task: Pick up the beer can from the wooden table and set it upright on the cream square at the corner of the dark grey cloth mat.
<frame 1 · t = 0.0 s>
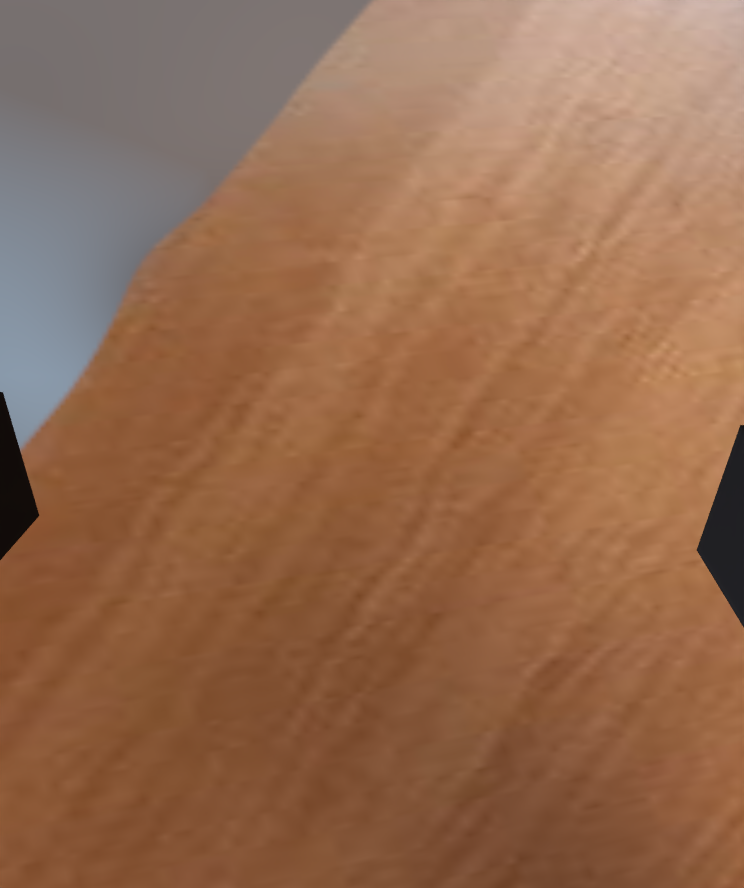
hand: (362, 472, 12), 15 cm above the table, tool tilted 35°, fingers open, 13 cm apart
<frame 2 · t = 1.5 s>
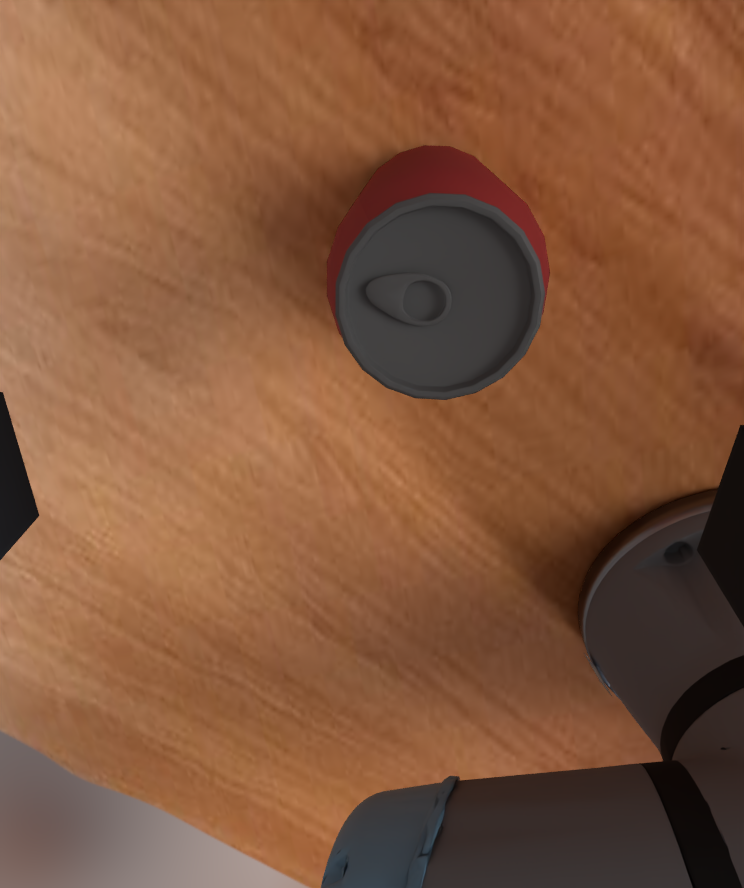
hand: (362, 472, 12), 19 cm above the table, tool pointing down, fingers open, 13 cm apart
beer can: (430, 227, 27), on the table
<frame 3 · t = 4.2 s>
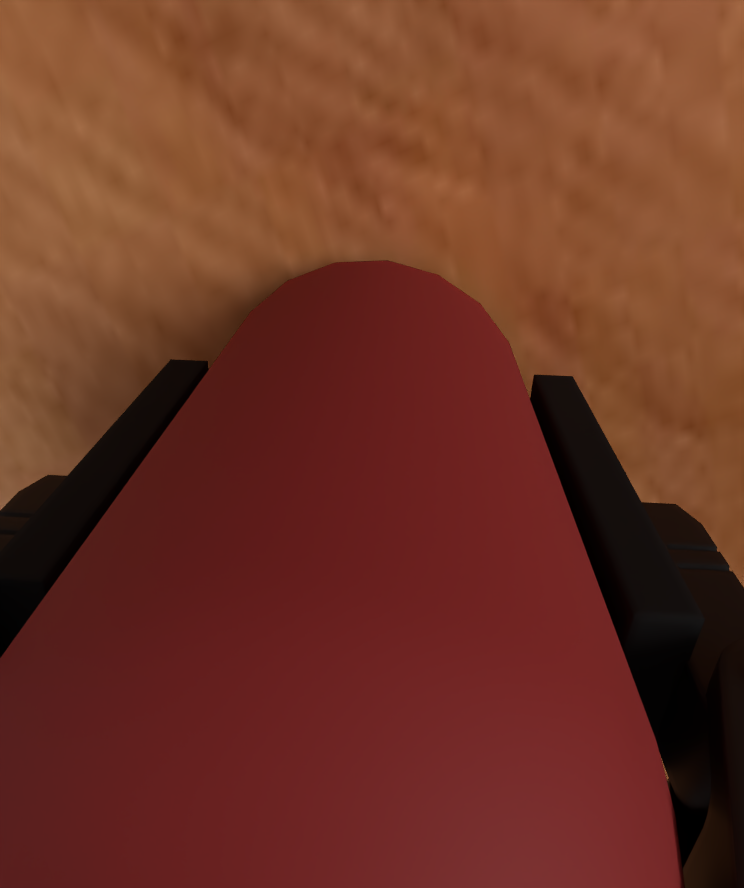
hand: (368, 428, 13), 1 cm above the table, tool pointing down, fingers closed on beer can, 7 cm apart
beer can: (372, 394, 15), on the table, touching gripper
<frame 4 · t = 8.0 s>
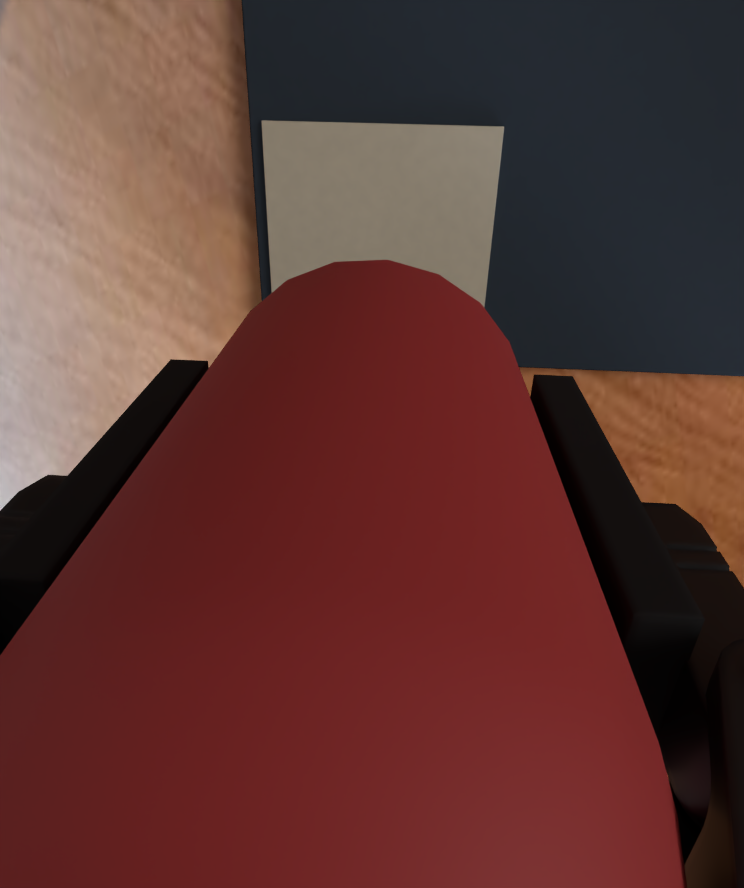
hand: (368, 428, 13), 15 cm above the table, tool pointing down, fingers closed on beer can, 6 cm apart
beer can: (372, 394, 15), point 14 cm above the table, touching gripper
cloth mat: (535, 169, 25), on the table
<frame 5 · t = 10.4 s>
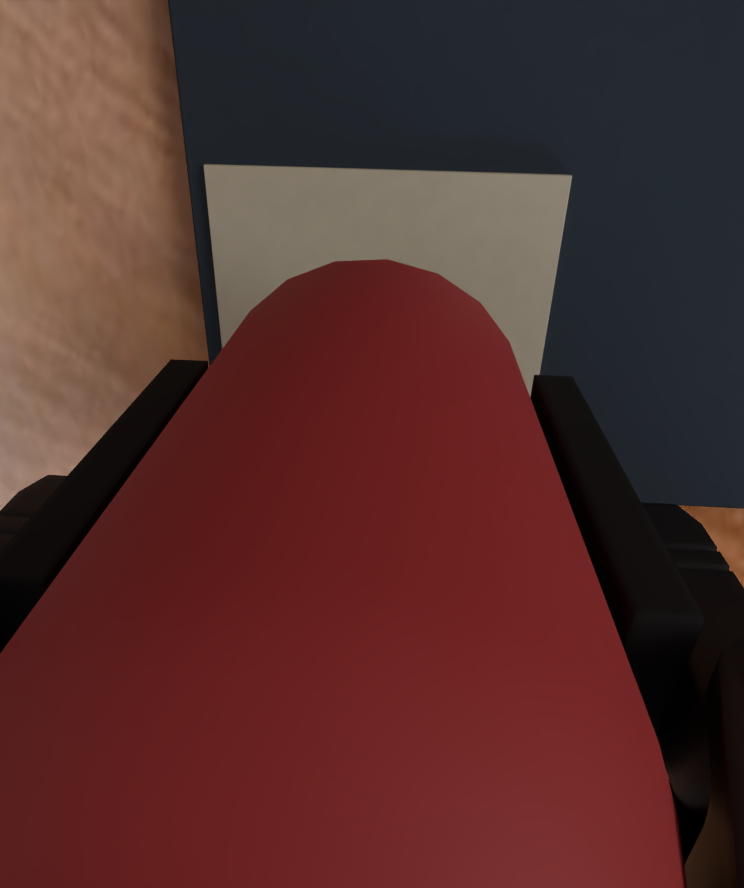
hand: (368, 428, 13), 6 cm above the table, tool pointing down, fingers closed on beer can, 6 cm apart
beer can: (372, 393, 15), point 4 cm above the table, touching gripper
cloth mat: (613, 235, 17), on the table
when the fingers open (2 cm above the table, at t = 11.8 s): beer can stays where it is, resting on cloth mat.
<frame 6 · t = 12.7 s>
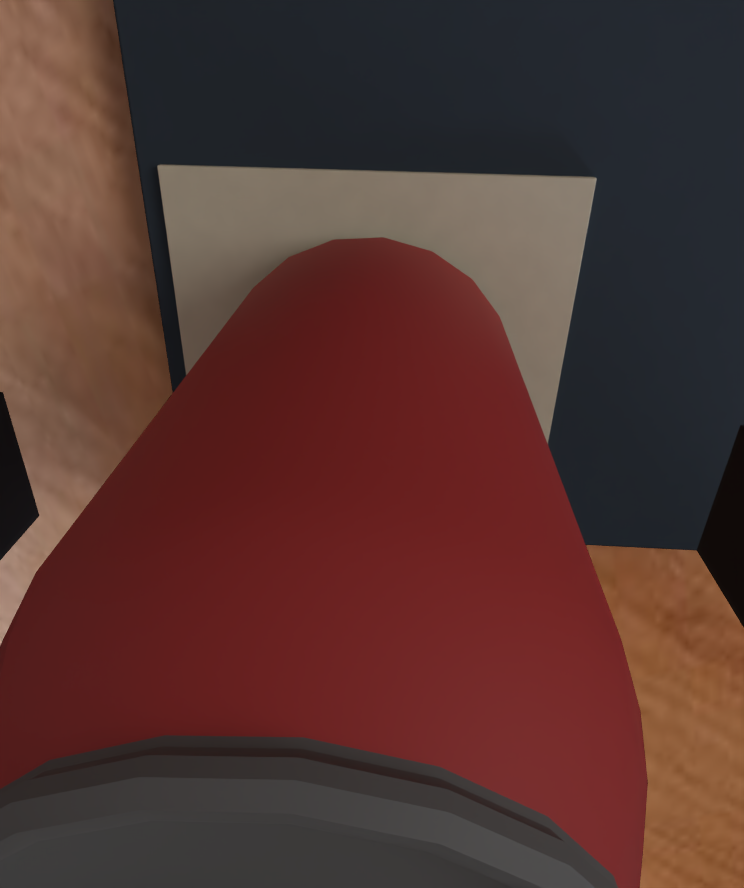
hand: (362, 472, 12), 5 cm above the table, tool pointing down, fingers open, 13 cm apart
beer can: (369, 369, 15), point 1 cm above the table, touching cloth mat
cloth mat: (642, 247, 14), on the table
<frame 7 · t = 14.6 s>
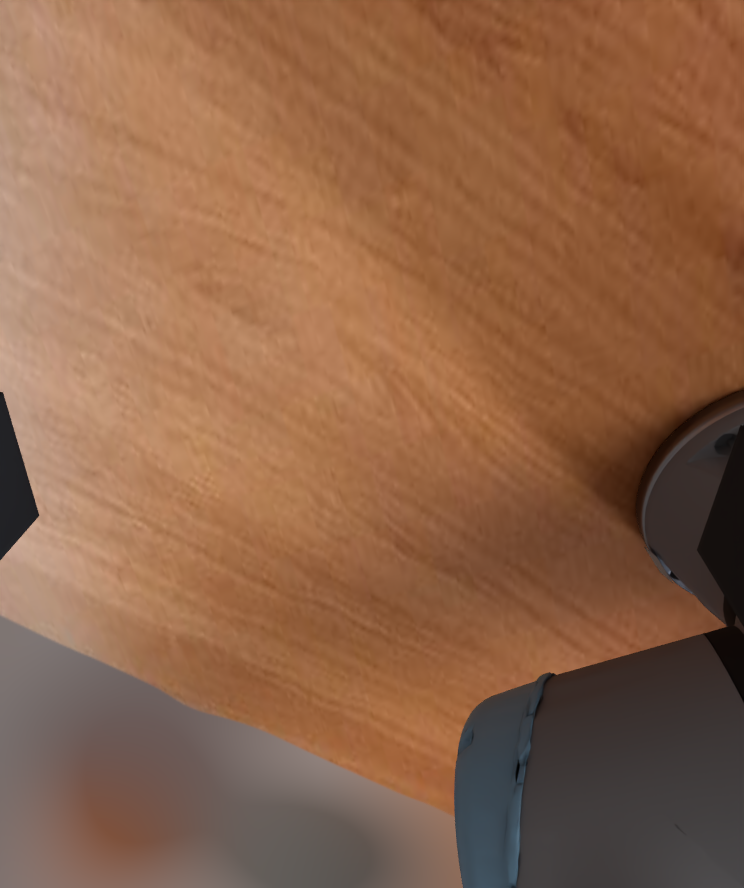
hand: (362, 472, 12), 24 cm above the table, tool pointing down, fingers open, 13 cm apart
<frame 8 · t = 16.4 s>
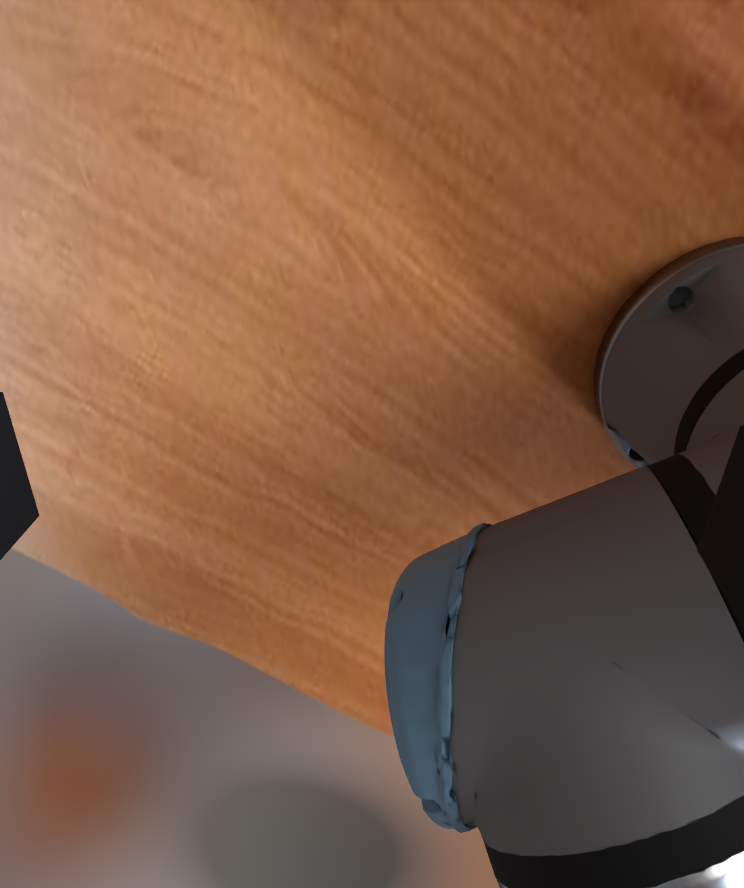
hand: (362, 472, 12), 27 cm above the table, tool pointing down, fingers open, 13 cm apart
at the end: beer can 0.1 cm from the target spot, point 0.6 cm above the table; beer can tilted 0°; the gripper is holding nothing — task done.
